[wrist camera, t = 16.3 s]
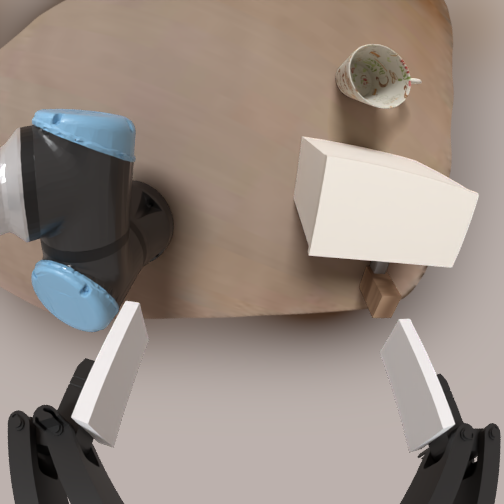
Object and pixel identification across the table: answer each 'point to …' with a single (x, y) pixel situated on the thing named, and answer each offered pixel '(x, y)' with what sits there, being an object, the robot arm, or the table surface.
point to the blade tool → (379, 290)
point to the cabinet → (378, 206)
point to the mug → (375, 77)
